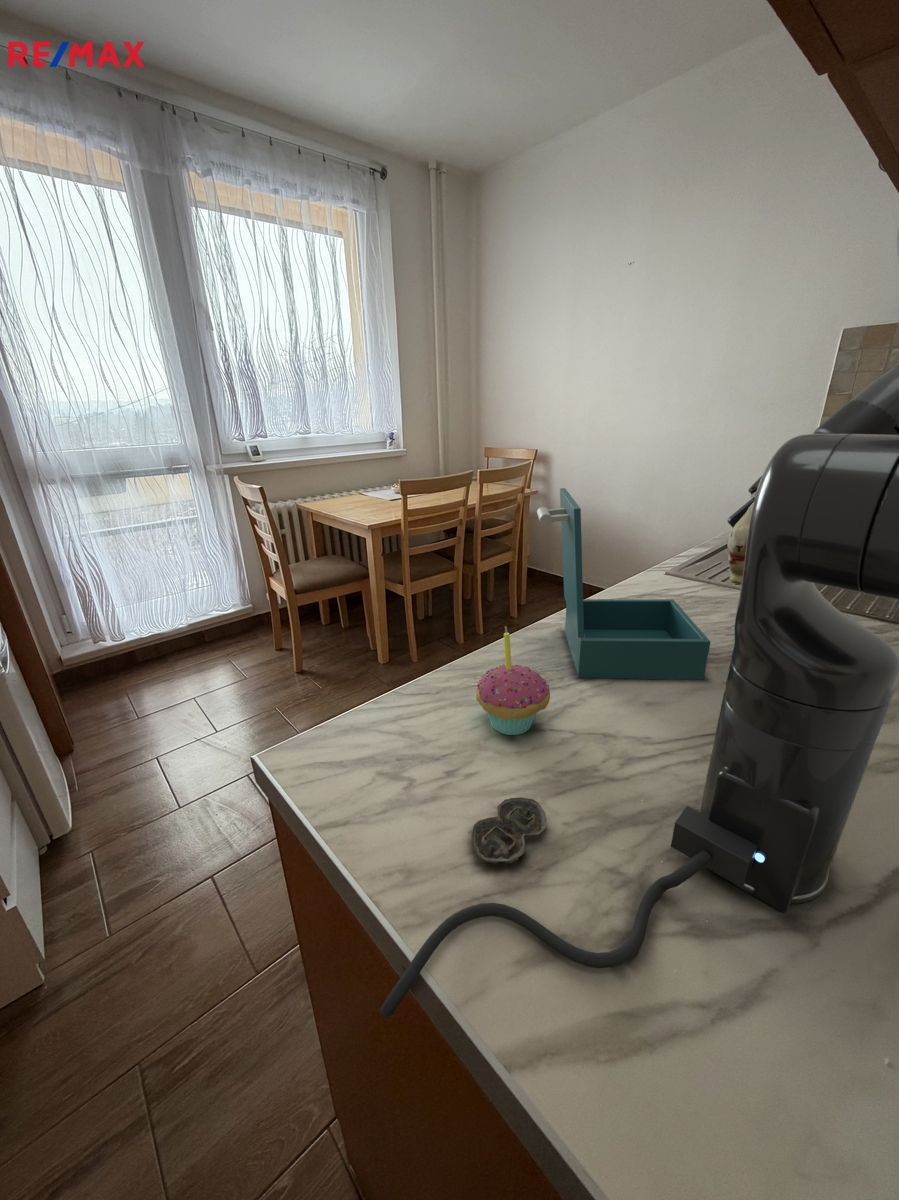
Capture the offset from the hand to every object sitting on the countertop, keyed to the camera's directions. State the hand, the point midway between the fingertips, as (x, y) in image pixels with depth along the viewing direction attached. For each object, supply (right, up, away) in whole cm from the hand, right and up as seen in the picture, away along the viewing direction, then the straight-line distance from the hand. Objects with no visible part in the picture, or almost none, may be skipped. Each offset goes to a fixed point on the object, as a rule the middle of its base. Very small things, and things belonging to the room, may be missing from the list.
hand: (743, 531), depth 59 cm
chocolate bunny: (+3, -6, +3) cm, 7 cm away
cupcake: (-28, -23, -1) cm, 37 cm away
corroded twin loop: (-30, -29, -16) cm, 45 cm away
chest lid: (-18, -2, +9) cm, 21 cm away
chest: (-9, -16, +14) cm, 23 cm away
